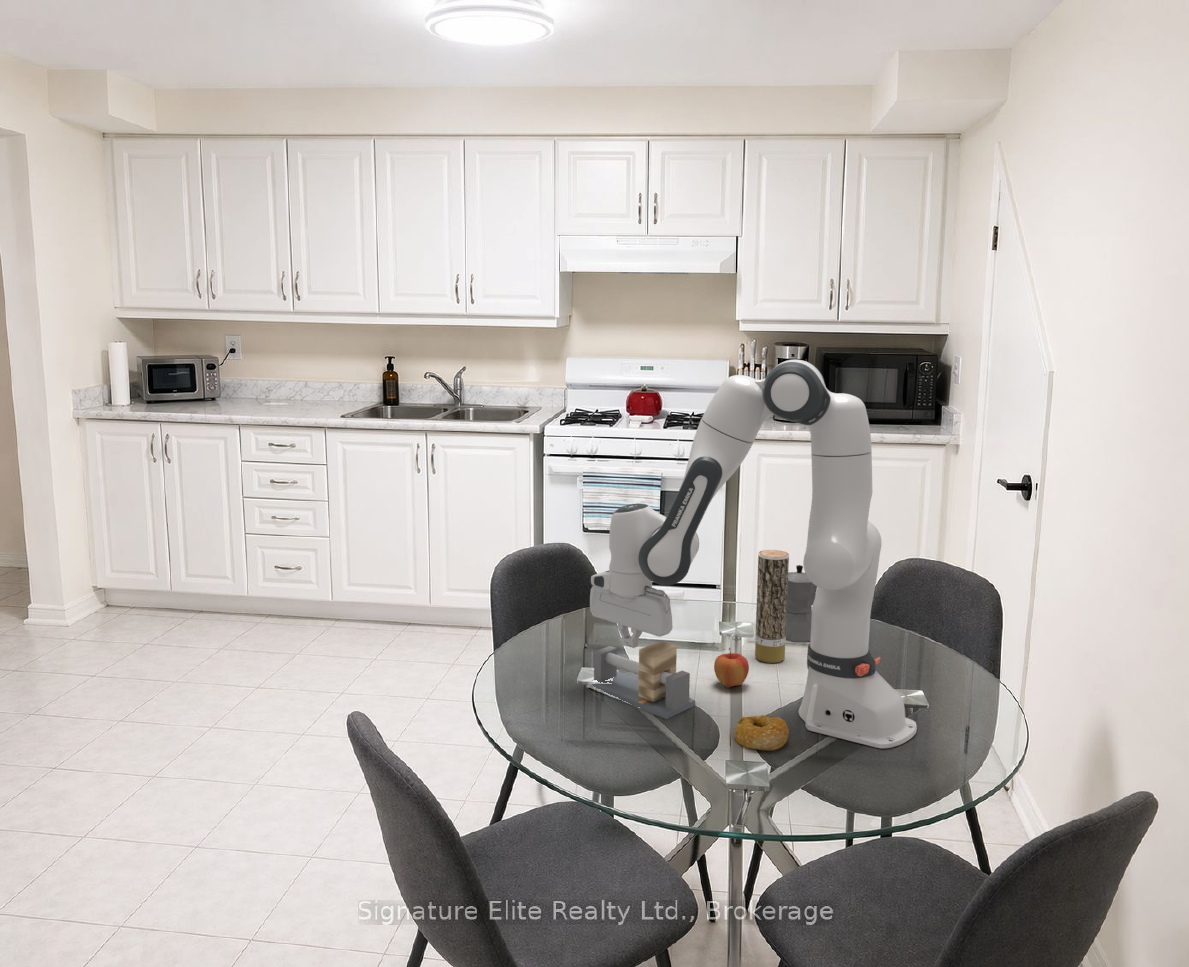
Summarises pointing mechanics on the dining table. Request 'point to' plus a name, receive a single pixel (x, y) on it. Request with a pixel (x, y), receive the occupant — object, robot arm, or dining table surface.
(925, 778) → the dining table surface
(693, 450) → the robot arm
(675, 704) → the pipe stand
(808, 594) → the coffeepot
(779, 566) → the brown tall cylinder piece
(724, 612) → the dining table surface
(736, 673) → the apple
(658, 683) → the collar
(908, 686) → the dining table surface
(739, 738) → the bagel
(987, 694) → the dining table surface
